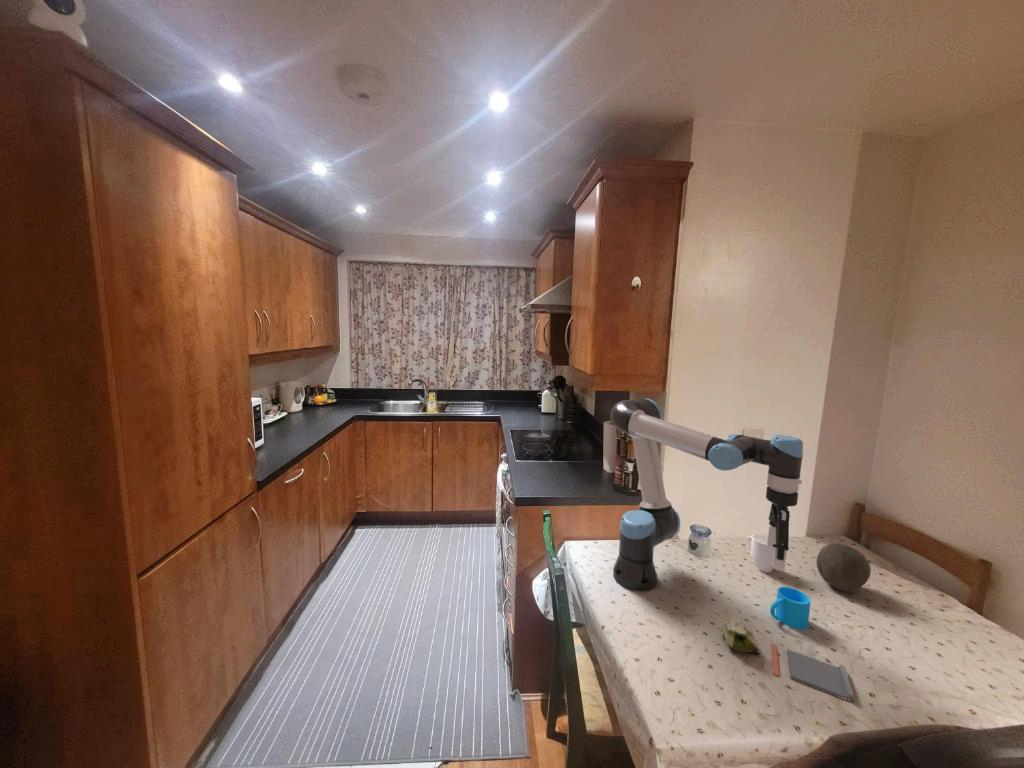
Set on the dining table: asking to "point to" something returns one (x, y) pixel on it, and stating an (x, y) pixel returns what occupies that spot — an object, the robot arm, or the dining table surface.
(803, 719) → the dining table surface
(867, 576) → the dark grey round stone
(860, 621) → the dining table surface
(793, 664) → the mat
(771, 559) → the mug
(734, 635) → the fruit
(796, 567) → the dining table surface
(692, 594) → the dining table surface
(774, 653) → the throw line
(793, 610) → the mug
